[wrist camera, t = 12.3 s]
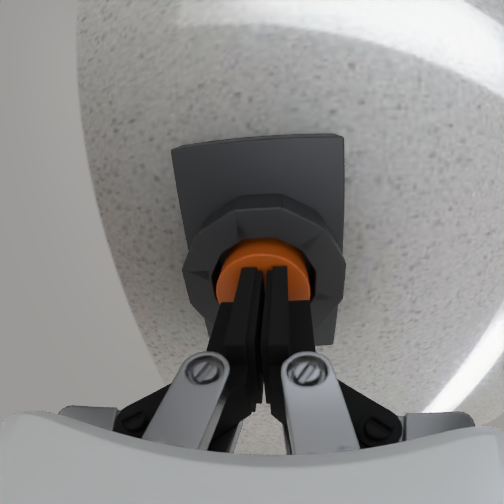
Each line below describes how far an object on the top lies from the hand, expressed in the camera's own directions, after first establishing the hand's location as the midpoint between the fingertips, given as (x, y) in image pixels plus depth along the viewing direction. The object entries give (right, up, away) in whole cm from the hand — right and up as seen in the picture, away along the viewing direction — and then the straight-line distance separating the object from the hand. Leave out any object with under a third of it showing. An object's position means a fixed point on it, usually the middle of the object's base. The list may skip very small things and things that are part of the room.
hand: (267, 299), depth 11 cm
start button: (0, +1, +1) cm, 2 cm away
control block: (0, +2, +4) cm, 4 cm away
